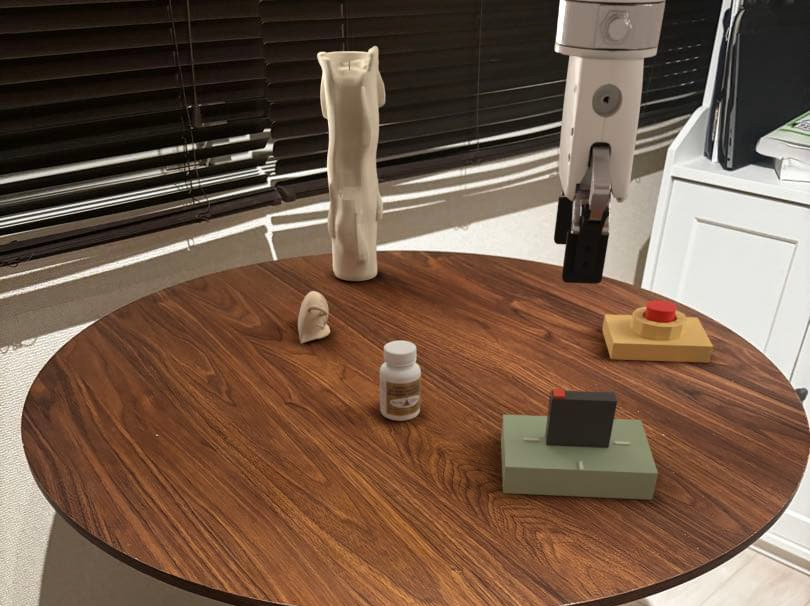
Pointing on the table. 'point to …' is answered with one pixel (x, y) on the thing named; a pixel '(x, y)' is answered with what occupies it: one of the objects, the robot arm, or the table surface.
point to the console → (576, 462)
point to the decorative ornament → (313, 317)
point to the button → (660, 311)
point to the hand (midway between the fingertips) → (575, 261)
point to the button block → (656, 338)
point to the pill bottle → (400, 381)
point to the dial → (580, 418)
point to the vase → (353, 158)
